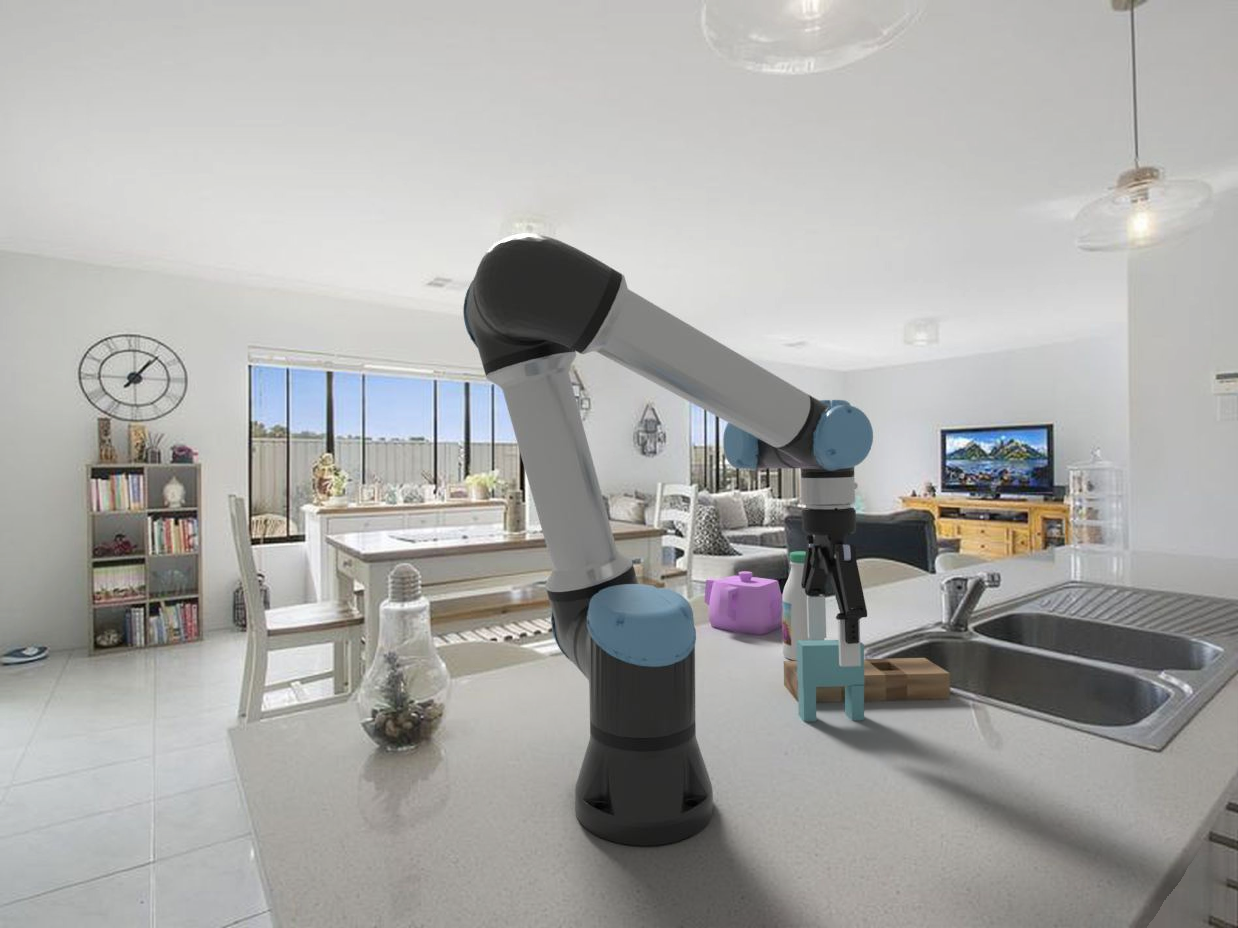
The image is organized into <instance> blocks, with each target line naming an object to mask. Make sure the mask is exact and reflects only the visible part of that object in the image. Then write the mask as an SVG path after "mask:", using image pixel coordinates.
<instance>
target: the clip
mask: <svg viewBox="0 0 1238 928" xmlns="http://www.w3.org/2000/svg"><path fill="white" fill-rule="evenodd" d="M860 651H861V666H846V667H841V666H840V665H839V639H824V640H810V641H797V681H798V701H797V702H798V703H797V704H798V716H799V717H800V718H801V720H802V722H804V723H807V722H809V723H810V722H817V702H816V687H832V686H845V701H844V713H845V715H846V716H847V717H848V718H849V719H850V720H851V721H865V701H864V659H865V644H864V643H862V642H861V641H860Z"/></svg>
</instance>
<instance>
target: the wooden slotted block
mask: <svg viewBox="0 0 1238 928" xmlns="http://www.w3.org/2000/svg"><path fill="white" fill-rule="evenodd" d="M783 685H784V687H785V688H786V689H787V690H788V691H789V693H790V695H792V697H793V698H794V699H795V700H796V702H798V681H797V661H795V660H783ZM950 699H951V673H950V672H949V671H947V670H945V669H944V668H942V667H940V666H939V665H937V664H935V662H934V663H933V662H932V661H931V660H929V659H927V658H925V657H904V658H903V657H900V658H899V657H898V658H869V659H868V658H864V702H868V701H869V702H873V701H874V702H876V701H877V702H879V701H910V700H911V701H912V700H913V701H914V700H915V701H916V700H917V701H918V700H950ZM830 702H831V703H834V702H835V703H836V702H837V703H838V702H840V703H841V702H845V686H832V687H816V703H830Z"/></svg>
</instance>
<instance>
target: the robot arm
mask: <svg viewBox="0 0 1238 928" xmlns="http://www.w3.org/2000/svg"><path fill="white" fill-rule="evenodd" d="M462 307H463V308H462V309H463V320H464V326H465V329H466V332H467V334H468V336H469V338H470V340H471V341H472V343H473V344H474V345H475V347H476V348H477V350H478V354H479V357H480V361H481V365H482V367H483V370H484V375H485V377H486V379H487V380H488V381H490V382H491V383H493V384H495V385H496V386H498V387H499V388H500V389H502V394H503V396H504V399H505V404H506V406H507V407H506V408H507V410H508V414H509V419H510V421H511V424H512V429H513V432H514V435H515V438H516V443H517V446H518V450H519V453H520V457H521V461H522V464H523V467H524V471H525V474H526V477H527V482H528V486H529V489H530V492H531V496H532V499H533V503H534V507H535V509H536V513H537V517H538V522H539V524H540V528H541V532H542V535H543V538H544V543H545V545H546V548H547V552H548V556H549V560H550V563H551V567H552V570H551V573H550V574H549V577H548V578H547V581H546V582H545V589H546V592H547V597H548V600H549V603H550V607H551V612H550V625H551V631H552V635H553V637H554V640H555V641H554V642H556V645H557V647H558V648H559V650H560V651H561V653H562V655H564V656H565V657H566V658H567V660H569V661H570V662H572V663H573V665H574V666H576V668H577V669H578V670H579V671H580V672H581V673H582V674H583V676H584V677H585V678H586V679H587V681H588V685H589V687H588V688H589V694H588V695H589V726H590V727H589V741H588V743H587V747H586V751H585V753H584V756H583V760H582V763H581V766H580V767H581V768H580V770H579V772H578V773H579V774H578V777H577V780H576V784H575V789H574V798H575V799H574V802H575V803H574V805H575V807H574V809H575V816H576V817H577V819H578V822H579V823H580V824H581V825H582V826H583V827H585V829H587V830H588V831H589V832H590V833H592V834H594V835H595V836H598V837H600V838H602V839H604V840H606V841H607V840H608V841H611V842H614V843H618V844H624V845H629V846H630V845H632V846H659V845H667V844H671V843H675V842H679V841H683V840H685V839H687V838H689V837H691V836H693V835H695V834H697V833H699V832H701V830H703V829H704V828H705V827H707V825H708V824H709V822H710V821H711V819H712V818H713V817H712V816H713V813H714V797H713V796H714V792H713V791H714V790H713V785H712V781H711V779H710V776H709V773H708V770H707V767H706V763H705V760H704V757H703V754H702V751H701V749H700V745H699V742H698V739H697V734H696V728H697V727H696V726H697V725H696V640H697V629H696V626H695V621H694V620H695V618H694V612H693V608H692V606H691V604H690V602H689V601H688V600H687V599H686V597H684V596H683V595H681V593H678V592H676V591H674V590H672V589H670V588H666V587H656V586H655V585H653V584H652V585H651V584H642V583H640V584H639V581H638V578H637V575H636V571H635V567H634V564H633V560H632V559H631V558H630V557H628V556H627V555H625V554H623V553H621V552H619V551H618V549H617V545H616V541H615V538H614V534H613V531H612V530H613V529H612V527H611V523H610V520H609V516H608V511H607V509H606V504H605V501H604V498H603V494H602V490H601V486H600V483H599V479H598V476H597V472H596V468H595V464H594V461H593V457H592V453H591V450H590V445H589V442H588V438H587V435H586V430H585V427H584V423H583V420H582V416H581V413H580V408H579V405H578V402H577V397H576V394H575V391H574V388H573V383H572V380H571V377H570V376H571V375H570V373H569V372H570V369H571V366H572V364H573V362H574V361H575V360H576V357H577V353H578V354H581V355H584V354H585V355H586V354H588V353H591V352H596V353H598V354H600V355H602V356H604V358H607V359H609V360H611V361H613V362H615V363H617V364H619V365H620V366H623V367H624V368H626V369H628V370H630V371H632V372H634V373H636V374H637V375H639V376H641V377H643V378H645V379H647V380H649V381H651V382H652V383H654V384H656V385H658V386H659V387H662V388H664V389H665V390H667V391H669V392H670V393H672V394H674V395H676V396H678V397H680V398H682V399H684V400H686V401H687V402H689V403H692V405H695V406H696V407H699V408H701V409H702V410H704V411H707V412H708V413H710V414H712V415H713V416H716V417H717V418H719V419H721V420H723V421H725V422H727V424H726V426H725V428H724V432H723V452H724V456H725V458H726V461H727V462H728V464H729V465H731V467H733V468H735V469H738V470H751V471H752V470H753V471H755V470H756V469H757V470H759V469H760V470H761V469H762V470H763V469H781V470H782V469H784V470H785V469H798V470H799V469H800V503H801V504H802V505H805V507H803V508H802V510H801V519H802V520H801V524H802V525H801V526H802V531H803V532H804V533H805V534H806V537H805V539H806V541H805V542H806V543H805V544H806V548H805V552H806V554H805V561H804V569H803V576H802V583H801V586H802V588H803V589H805V593H806V595H808V596H807V627H808V638H809V639H813V638H824V639H827V620H826V619H827V618H826V616H827V614H826V613H827V612H826V611H827V610H826V596H825V595H828V593H827V590H826V587H825V586H826V583H827V581H828V577H829V579H830V581H831V586H832V588H833V592H834V596H835V599H836V603H837V606H838V610H839V612H838V613H837V614H836V616H835V619H836V620H837V626H838V627H837V633H838V635H837V636H838V639H837V640H839V665H840V666H841V667H846V666H861V651H860V642H861V623H860V622H861V619H862V618H867V617H868V610H867V605H866V599H865V597H864V591H863V586H862V580H861V575H860V572H859V565H858V561H857V560H858V559H857V548H856V545H855V544H846V538H845V537H846V536H847V535H853V534H854V533H855V532H856V531H857V511H856V509H855V508H854V507H852V505H854V504H855V502H856V491H855V490H857V489H858V487H859V486H858V485H859V484H858V483H857V482H855V467H857V466H858V465H860V464H862V463H863V462H864V460H866V458H867V457H868V455H869V454H870V451H871V449H872V446H873V443H874V442H873V441H874V430H873V426H872V423H871V421H870V419H869V417H868V416H867V415H866V413H864V411H862V409H860V408H858V407H856V406H853V405H851V403H850V402H849V401H847V400H845V399H827V400H826V399H821V400H819V399H818V398H816V397H813V396H812V395H810V394H809V393H806V392H804V391H803V390H801V389H800V388H798V387H796V386H794V385H792V384H791V383H789V382H788V381H786V380H784V379H782V378H781V377H780V376H777V375H776V374H774V373H773V372H770V371H769V370H767V369H766V368H764V367H762V366H760V365H758V364H757V363H755V362H753V360H750V359H748V358H747V357H745V356H743V355H741V354H740V353H738V352H736V351H734V349H731V348H730V347H728V346H727V345H725V344H723V343H721V342H720V341H718V340H716V339H714V337H713V338H712V337H711V336H709V335H707V334H706V333H704V332H703V331H700V330H699V329H697V328H695V327H694V326H693V325H690V324H688V323H687V322H685V321H683V320H682V319H681V318H678V317H677V316H676V315H673V314H671V313H670V312H668V311H667V310H665V309H664V308H661V307H660V306H658V305H656V304H654V303H653V302H651V301H650V300H647V299H646V298H644V297H643V296H641V295H639V294H638V293H635V292H634V291H633V290H631V289H629V287H628V285H627V280H626V277H625V275H624V274H622V273H621V272H620V271H618V270H615V269H614V268H612V267H611V266H609V265H607V264H606V263H604V262H603V261H601V260H599V259H597V258H595V257H593V256H591V255H590V254H588V253H586V252H584V251H582V250H581V249H579V248H576V247H575V246H572V245H570V244H568V243H565V242H563V241H562V240H559V239H557V238H556V239H555V238H552V237H549V236H546V235H543V234H542V235H541V234H534V233H521V234H520V233H519V234H515V235H511V236H508V237H505V238H503V239H502V240H500V241H498V242H496V243H494V244H493V246H491V248H489V249H488V250H487V251H486V253H485V254H484V256H483V257H482V258H481V260H480V263H479V264H478V266H477V269H476V272H475V275H474V277H473V280H472V281H471V282H470V284H469V286H468V288H467V290H466V293H465V297H464V303H463V306H462ZM807 580H808V581H807ZM821 594H823V596H819V595H821Z"/></svg>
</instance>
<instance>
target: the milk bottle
mask: <svg viewBox="0 0 1238 928" xmlns="http://www.w3.org/2000/svg"><path fill="white" fill-rule="evenodd" d="M805 554H806V551H800V550H799V551H792V552H789V561H790V562H789V564H790V567H791V568H790V571H789V575H788V578H787V580H786V583H785V585H784V587H783V592H782V593H783V598H782V626H781V627H782V629H781V630H782V632H781V633H782V654H783V656H784V657H785V658H787V659H789V660H790V661H797V641H810V640H825V638H813V639H809V638H808V627H807V596H808V595H806V593H805V589H803V588H802V586H801V583H802V576H803V569H804V561H805ZM807 581H808V580H807ZM819 596H824V594H821V595H819Z"/></svg>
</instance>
